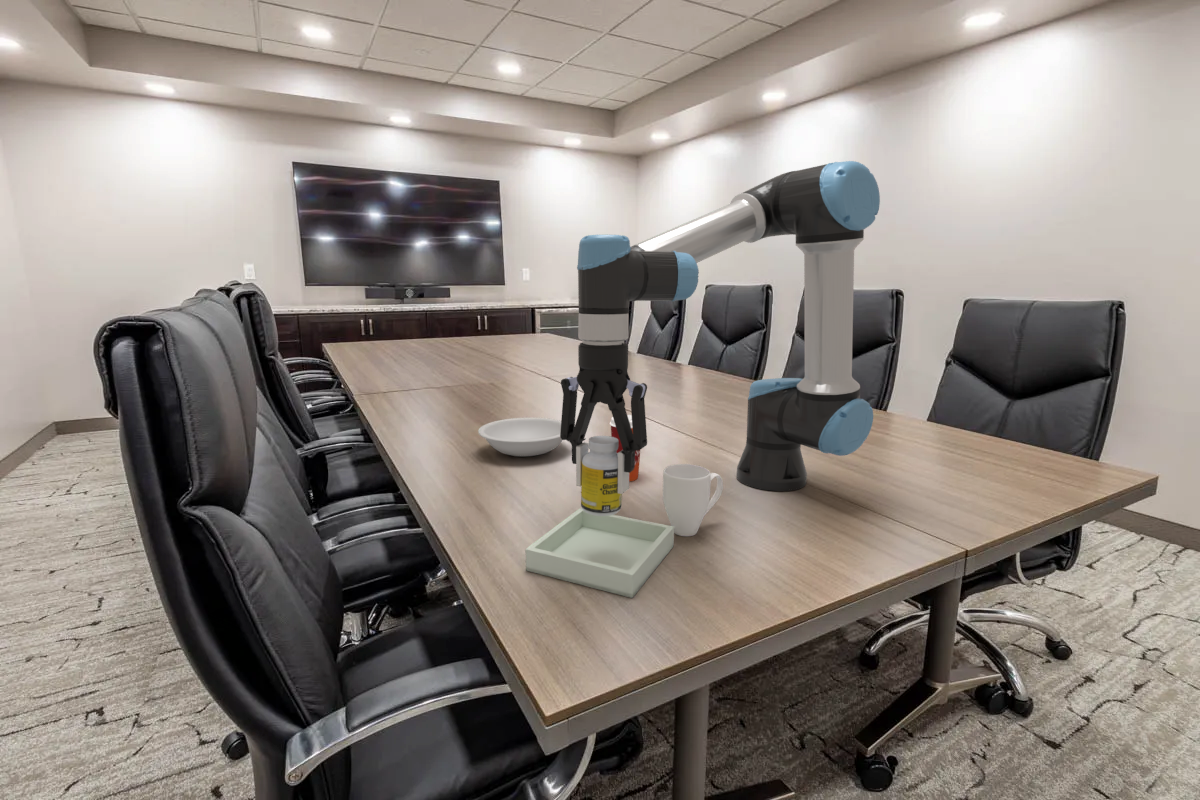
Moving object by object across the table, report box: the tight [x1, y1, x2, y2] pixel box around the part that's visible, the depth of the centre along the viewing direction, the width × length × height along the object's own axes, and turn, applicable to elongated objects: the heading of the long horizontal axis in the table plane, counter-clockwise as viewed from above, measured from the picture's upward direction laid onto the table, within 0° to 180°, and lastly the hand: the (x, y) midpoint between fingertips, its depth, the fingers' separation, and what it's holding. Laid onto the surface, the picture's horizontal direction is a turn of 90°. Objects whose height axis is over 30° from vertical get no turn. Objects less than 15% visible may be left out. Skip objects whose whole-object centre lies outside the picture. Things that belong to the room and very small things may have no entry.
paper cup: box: [608, 414, 641, 483], centre depth 130 cm, size 8×8×14 cm
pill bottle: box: [580, 435, 623, 516], centre depth 91 cm, size 6×6×12 cm
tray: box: [524, 507, 675, 599], centre depth 93 cm, size 18×18×4 cm
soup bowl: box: [477, 416, 563, 457], centre depth 149 cm, size 24×24×7 cm
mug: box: [662, 463, 724, 537], centre depth 103 cm, size 12×8×11 cm
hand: (602, 486), depth 91 cm, fingers closed on pill bottle, 6 cm apart
